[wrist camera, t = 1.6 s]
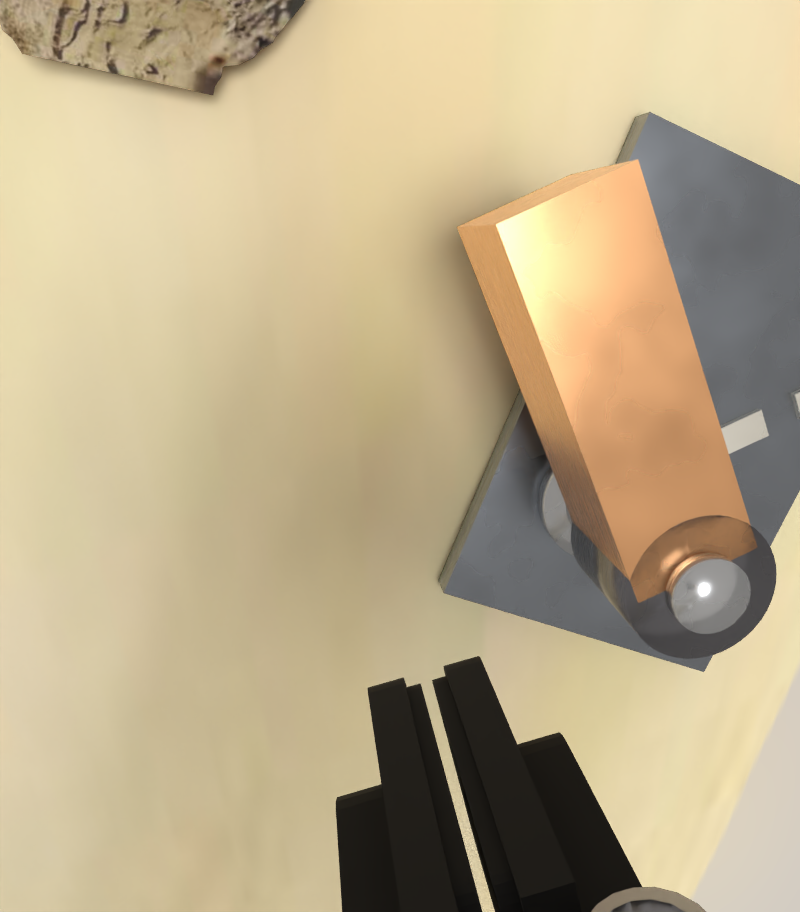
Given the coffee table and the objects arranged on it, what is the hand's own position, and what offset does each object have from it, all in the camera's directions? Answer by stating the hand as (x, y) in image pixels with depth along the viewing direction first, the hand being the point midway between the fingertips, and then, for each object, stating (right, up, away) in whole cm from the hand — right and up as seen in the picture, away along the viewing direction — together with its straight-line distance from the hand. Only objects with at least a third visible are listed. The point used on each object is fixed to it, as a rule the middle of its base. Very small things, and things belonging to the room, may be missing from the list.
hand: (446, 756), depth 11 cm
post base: (+11, +6, +21) cm, 24 cm away
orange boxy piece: (+6, +6, +16) cm, 18 cm away
